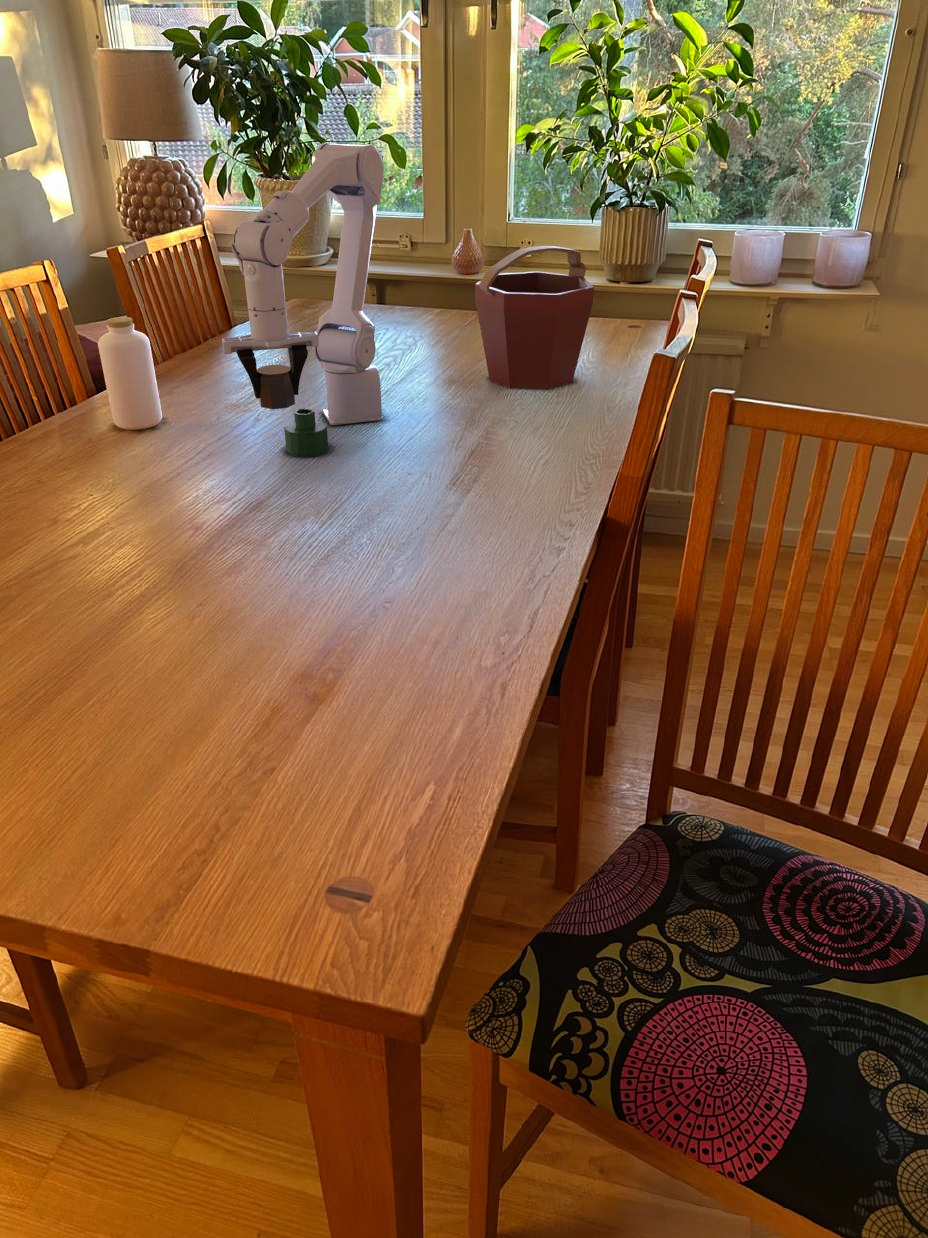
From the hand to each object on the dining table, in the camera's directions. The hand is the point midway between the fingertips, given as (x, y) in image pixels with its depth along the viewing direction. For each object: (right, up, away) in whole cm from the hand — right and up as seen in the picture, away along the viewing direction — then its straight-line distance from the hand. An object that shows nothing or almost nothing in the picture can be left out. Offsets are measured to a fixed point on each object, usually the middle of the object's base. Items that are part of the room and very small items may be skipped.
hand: (276, 394), depth 148 cm
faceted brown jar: (0, -1, +1) cm, 1 cm away
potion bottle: (-27, -1, +16) cm, 32 cm away
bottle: (+4, -8, +5) cm, 10 cm away
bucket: (+44, +13, +40) cm, 61 cm away
